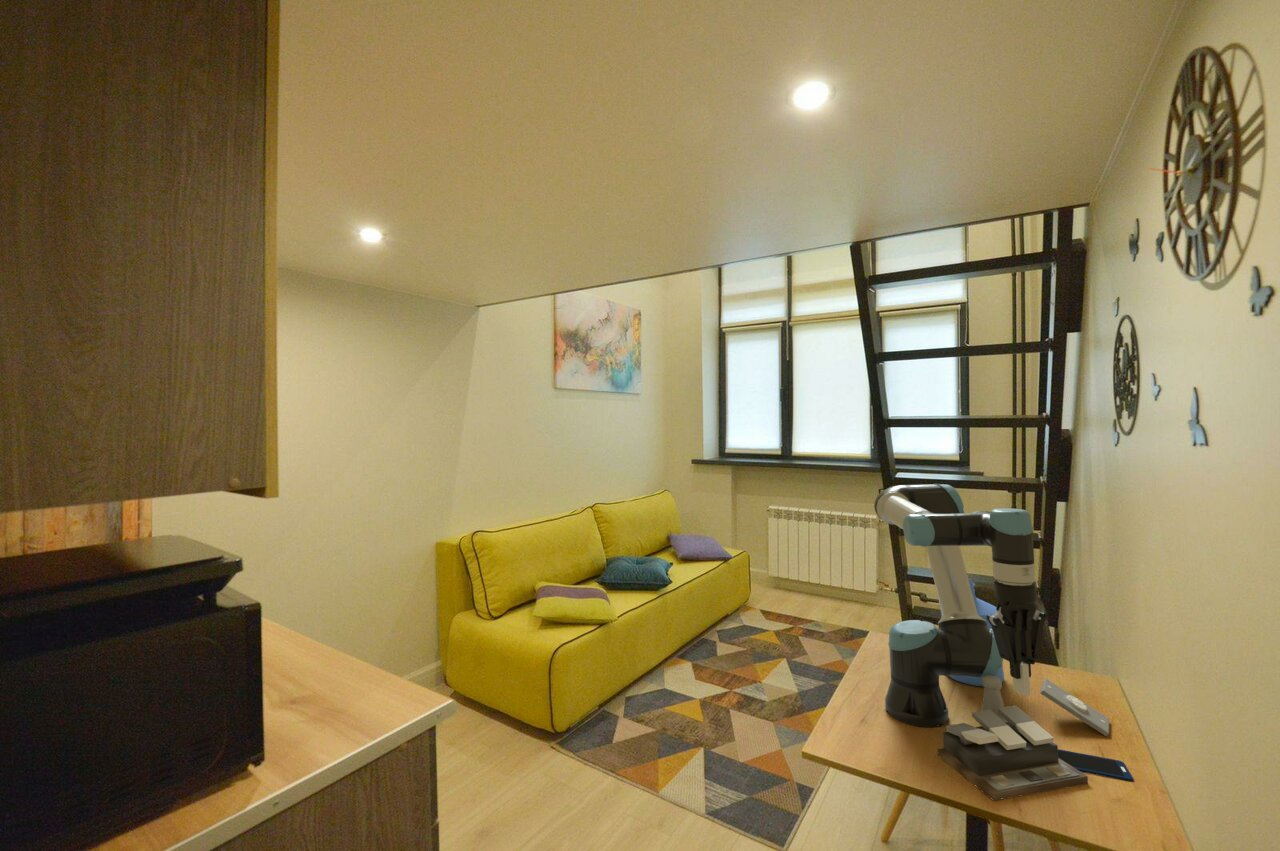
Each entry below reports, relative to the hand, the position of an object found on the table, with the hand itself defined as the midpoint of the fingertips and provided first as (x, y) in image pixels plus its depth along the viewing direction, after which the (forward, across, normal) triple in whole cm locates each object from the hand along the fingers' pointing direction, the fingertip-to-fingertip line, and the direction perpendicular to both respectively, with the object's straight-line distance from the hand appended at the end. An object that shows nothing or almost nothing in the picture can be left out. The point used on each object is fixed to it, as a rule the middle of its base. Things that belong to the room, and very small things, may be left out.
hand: (1021, 692), depth 116 cm
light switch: (+19, +32, +18) cm, 41 cm away
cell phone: (+20, +18, +3) cm, 27 cm away
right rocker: (+13, +8, +9) cm, 18 cm away
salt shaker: (+19, +10, +20) cm, 29 cm away
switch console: (+19, +1, +6) cm, 20 cm away
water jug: (+18, +26, +46) cm, 56 cm away
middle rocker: (+14, +1, +8) cm, 16 cm away
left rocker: (+14, -6, +7) cm, 17 cm away
